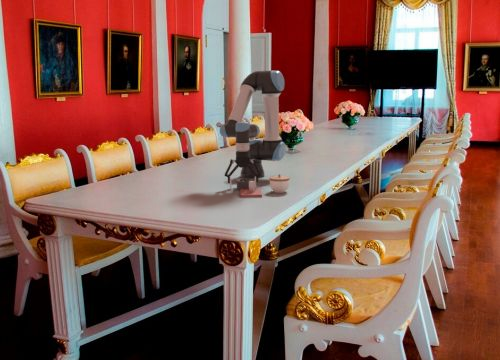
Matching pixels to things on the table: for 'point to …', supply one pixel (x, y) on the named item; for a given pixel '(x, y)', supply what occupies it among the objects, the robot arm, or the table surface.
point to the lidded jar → (279, 183)
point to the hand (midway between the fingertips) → (243, 188)
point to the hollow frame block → (242, 184)
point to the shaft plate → (249, 194)
